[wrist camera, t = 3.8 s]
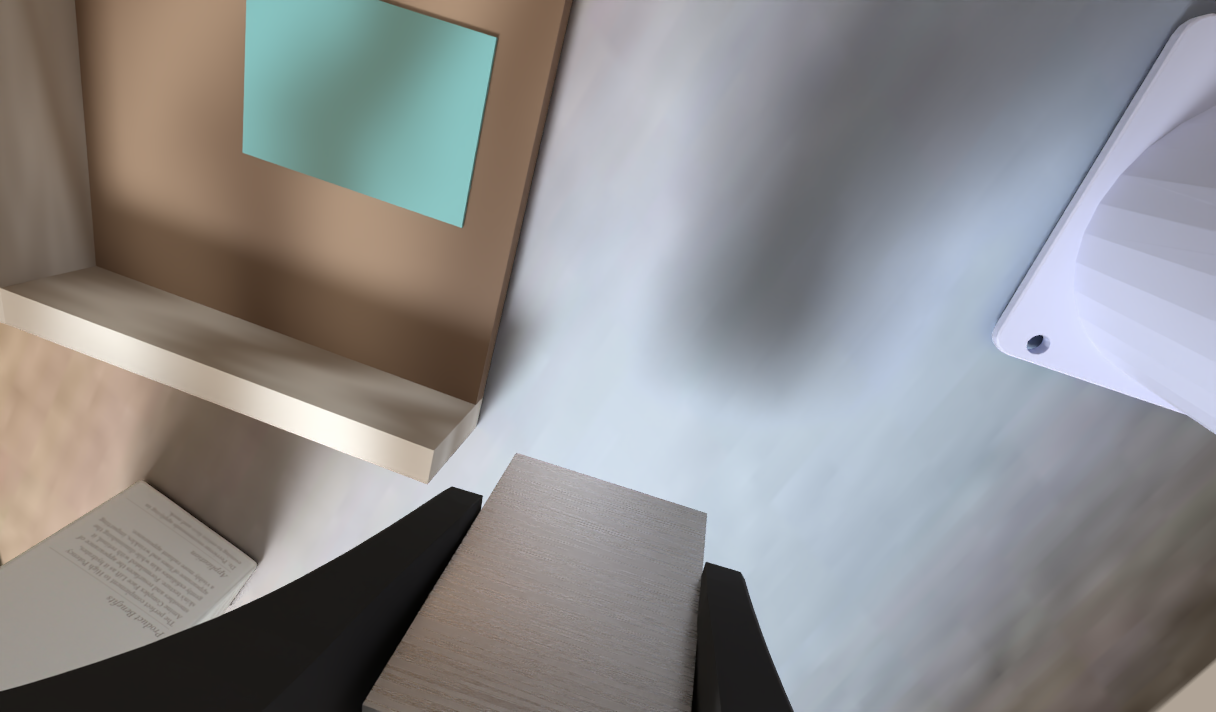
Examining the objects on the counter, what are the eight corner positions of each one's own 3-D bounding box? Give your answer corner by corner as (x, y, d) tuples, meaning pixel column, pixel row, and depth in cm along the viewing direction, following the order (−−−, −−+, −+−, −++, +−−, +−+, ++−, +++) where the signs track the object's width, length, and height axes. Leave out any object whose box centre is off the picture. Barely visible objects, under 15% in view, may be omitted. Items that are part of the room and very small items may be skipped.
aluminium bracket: (706, 513, 12) (682, 820, 7) (634, 699, 14) (579, 1015, 10) (516, 452, 12) (361, 704, 7) (479, 645, 15) (349, 924, 10)
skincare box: (117, 532, 26) (-333, 832, 15) (147, 470, 24) (-342, 760, 13) (233, 615, 27) (-122, 965, 16) (270, 560, 25) (-103, 912, 14)
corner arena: (595, -102, 14) (553, -165, 11) (476, 427, 20) (427, 484, 17) (37, -266, 15) (-150, -367, 12) (85, 282, 21) (-29, 311, 18)
